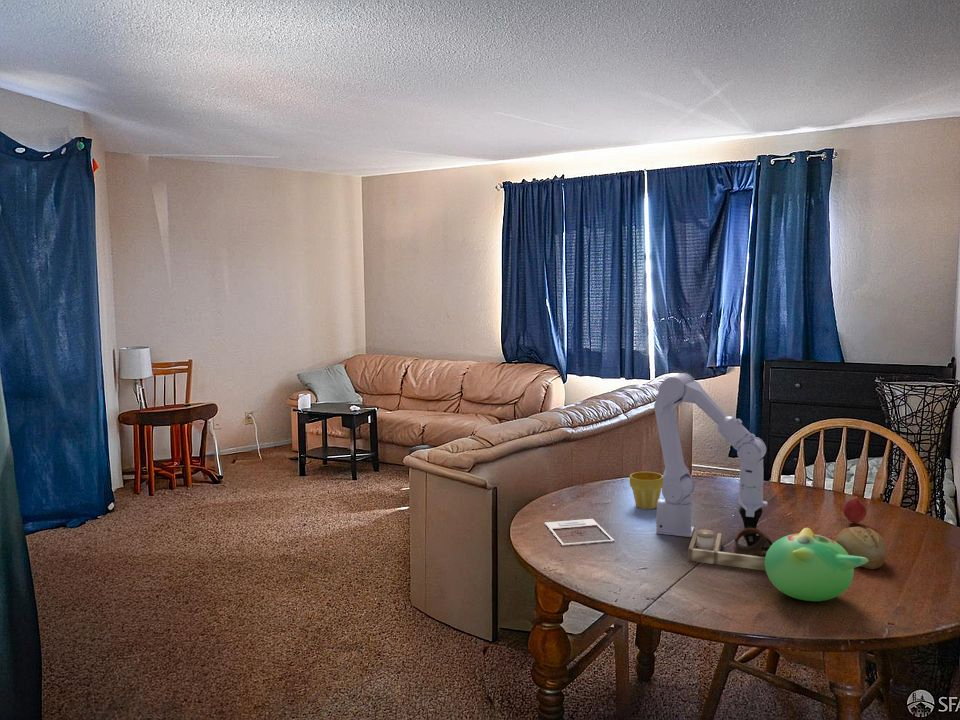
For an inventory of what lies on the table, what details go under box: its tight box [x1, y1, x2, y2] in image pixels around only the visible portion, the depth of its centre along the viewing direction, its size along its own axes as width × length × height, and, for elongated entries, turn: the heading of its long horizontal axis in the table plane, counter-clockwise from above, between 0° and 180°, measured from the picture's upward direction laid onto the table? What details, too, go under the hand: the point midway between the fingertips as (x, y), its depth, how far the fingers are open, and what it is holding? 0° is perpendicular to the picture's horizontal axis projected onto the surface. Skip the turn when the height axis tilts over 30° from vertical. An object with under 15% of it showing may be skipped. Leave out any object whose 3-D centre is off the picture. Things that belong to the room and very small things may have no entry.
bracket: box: [687, 529, 766, 572], centre depth 182 cm, size 22×14×3 cm, turn 68°
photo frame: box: [544, 518, 615, 547], centre depth 201 cm, size 15×1×18 cm
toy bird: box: [764, 527, 868, 602], centre depth 157 cm, size 18×17×15 cm
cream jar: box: [696, 529, 715, 551], centre depth 184 cm, size 4×4×6 cm
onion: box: [842, 496, 867, 525], centre depth 203 cm, size 6×6×8 cm
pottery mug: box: [733, 526, 773, 556], centre depth 182 cm, size 12×10×8 cm
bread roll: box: [835, 526, 887, 570], centre depth 178 cm, size 10×15×8 cm, turn 1°
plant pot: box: [629, 471, 663, 510], centre depth 223 cm, size 10×10×10 cm
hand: (750, 535), depth 188 cm, fingers closed
